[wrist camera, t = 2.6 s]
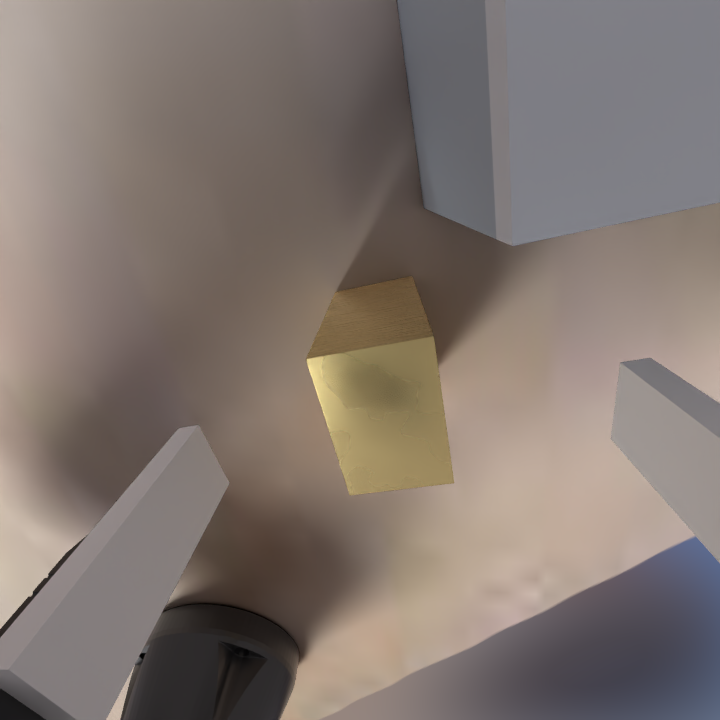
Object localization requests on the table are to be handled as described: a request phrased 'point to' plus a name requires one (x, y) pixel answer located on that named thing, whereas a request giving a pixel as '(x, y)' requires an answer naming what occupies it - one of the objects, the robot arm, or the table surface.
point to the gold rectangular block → (382, 389)
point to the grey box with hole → (563, 111)
